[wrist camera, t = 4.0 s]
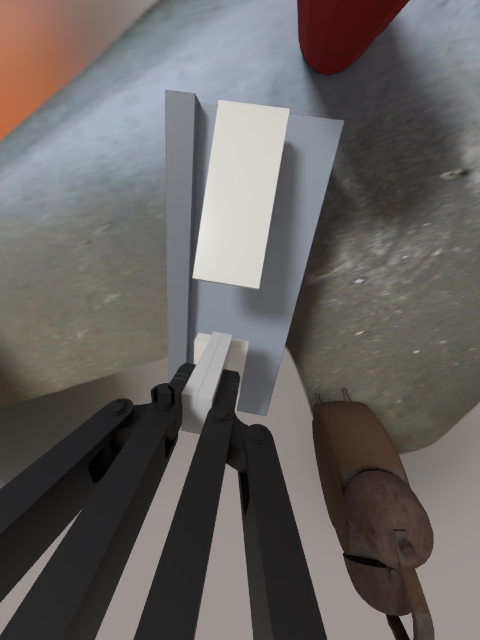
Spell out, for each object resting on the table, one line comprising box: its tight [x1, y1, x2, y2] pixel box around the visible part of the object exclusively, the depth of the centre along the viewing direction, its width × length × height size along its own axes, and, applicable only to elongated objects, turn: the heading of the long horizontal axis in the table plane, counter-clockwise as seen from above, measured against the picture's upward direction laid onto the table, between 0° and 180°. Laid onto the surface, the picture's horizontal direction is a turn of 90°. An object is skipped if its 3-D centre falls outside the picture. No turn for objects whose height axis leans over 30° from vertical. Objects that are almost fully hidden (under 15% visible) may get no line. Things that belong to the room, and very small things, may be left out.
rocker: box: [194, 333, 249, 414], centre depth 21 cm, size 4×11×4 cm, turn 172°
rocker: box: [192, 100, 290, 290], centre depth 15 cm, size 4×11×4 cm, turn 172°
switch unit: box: [165, 90, 344, 416], centre depth 22 cm, size 12×28×7 cm, turn 172°
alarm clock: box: [312, 389, 434, 640], centre depth 22 cm, size 15×7×20 cm, turn 10°
